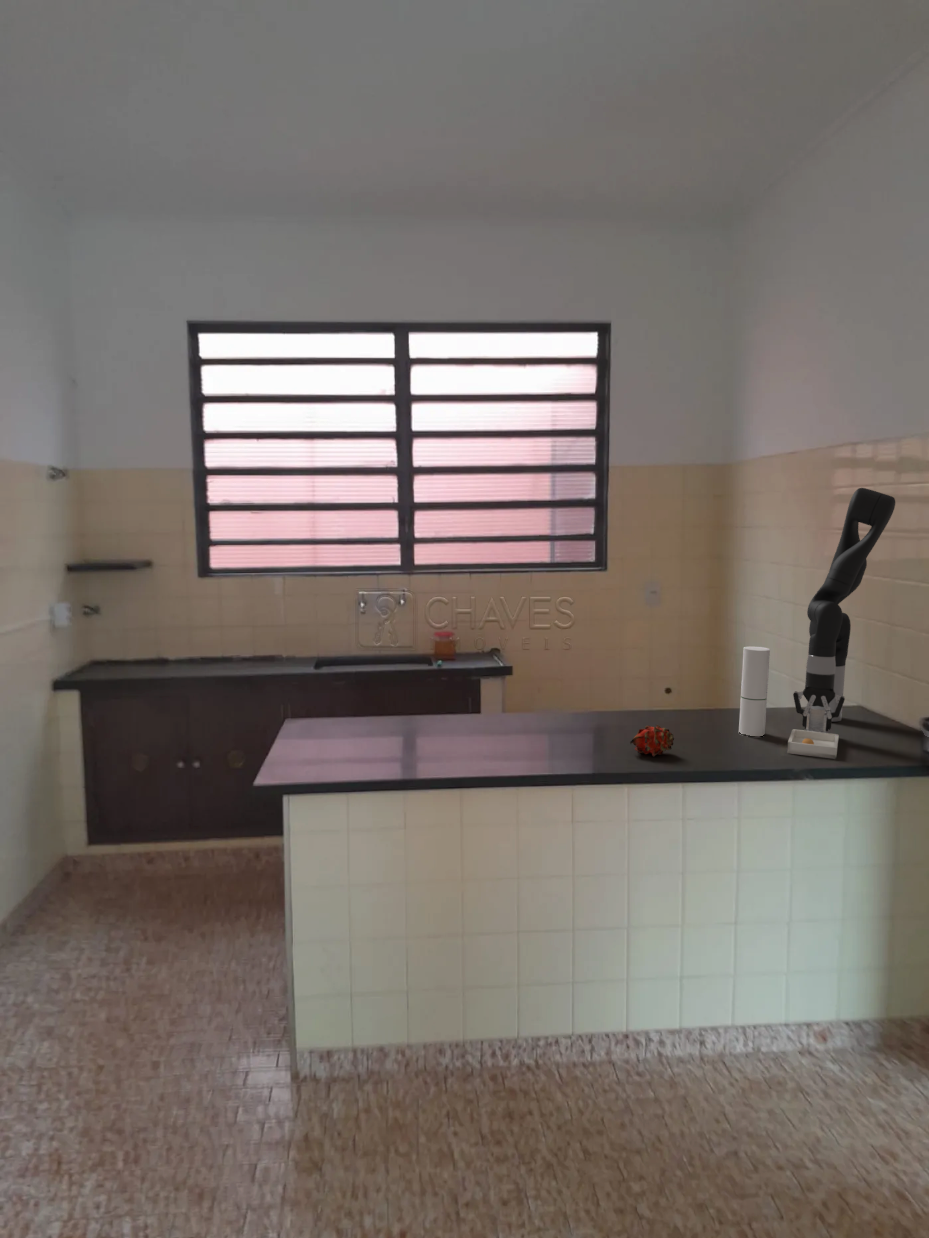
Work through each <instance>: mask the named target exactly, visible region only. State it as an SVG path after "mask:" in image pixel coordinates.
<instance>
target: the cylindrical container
mask: <svg viewBox="0 0 929 1238" xmlns="http://www.w3.org/2000/svg"><path fill="white" fill-rule="evenodd" d="M742 649H743V652H742V667H741V668H742V669H741V670H742V671H741V684H740V685H741V688H740V705H739V706H740V707H739V724H738V733H739V732H740V733H741V734H746V735H750V736H763V735H764V734H765V733H766V722H767V721H766V720H767V719H766V718H767V717H766V716H767V703H768V689H769V688H768V685H769V672H770V671H769V670H770V656H771V655H770V652H771V649H770V648H769V647H764V646H753V645H751V646H748V645H747V646H744V647H743V648H742ZM741 734H740V735H741ZM763 737H764V736H763Z"/></svg>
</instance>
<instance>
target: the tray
mask: <svg viewBox="0 0 929 1238" xmlns="http://www.w3.org/2000/svg"><path fill="white" fill-rule="evenodd" d="M839 736H840V735H839V733H830V732H826V733H822V732H813V731H806V729H804V730H803V729H794V728H793V729H791V733H790V735H789V738H788V741H787V750H786V751H787V752H786V754H793V755H801V756H809V757H815V758H823V759H832V760H837V756H838V755H837V754H838V746H839ZM806 738H809V739H811V740H812V741H813V742H814V744H806V743H802V741H803V740H804V739H806Z"/></svg>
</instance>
